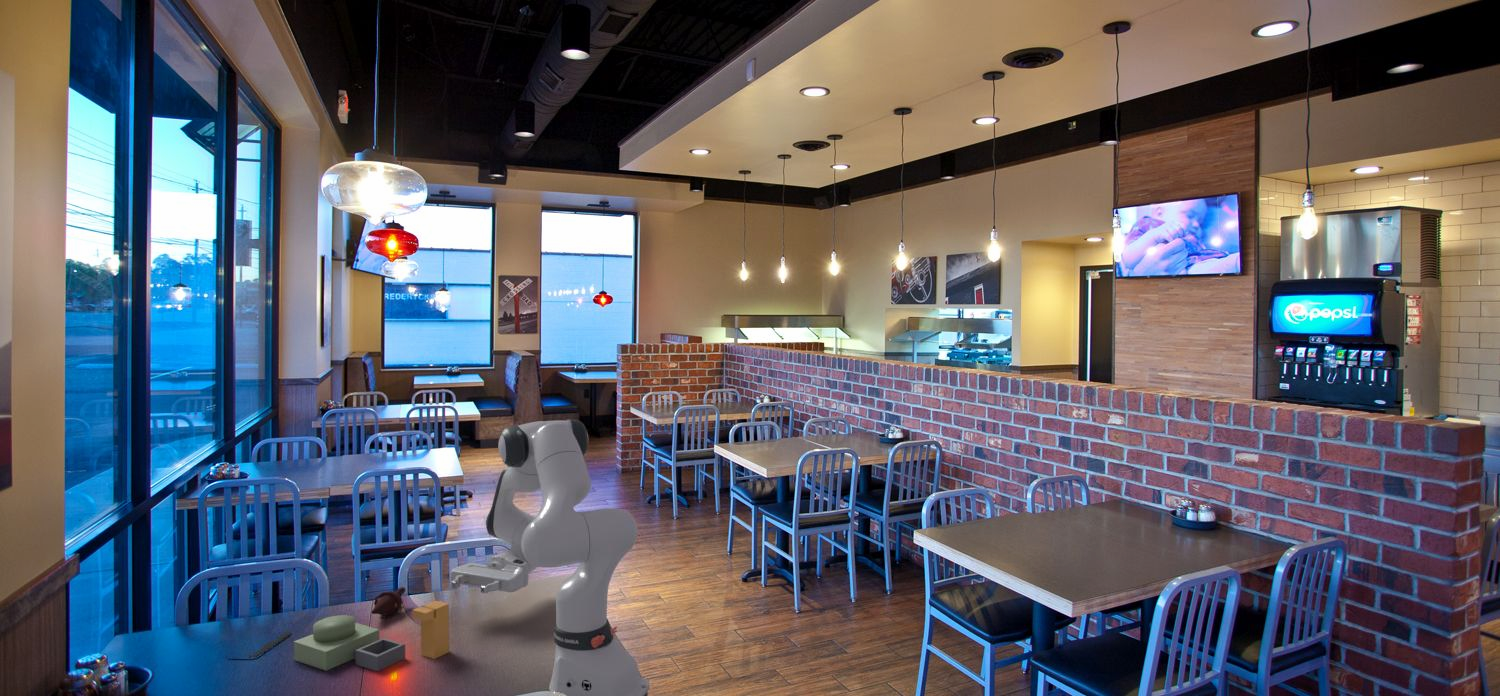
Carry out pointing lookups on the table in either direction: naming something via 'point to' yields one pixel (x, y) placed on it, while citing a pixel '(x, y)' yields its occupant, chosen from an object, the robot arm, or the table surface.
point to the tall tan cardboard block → (433, 628)
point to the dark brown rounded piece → (388, 603)
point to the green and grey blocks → (346, 645)
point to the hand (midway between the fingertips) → (467, 587)
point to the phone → (270, 645)
